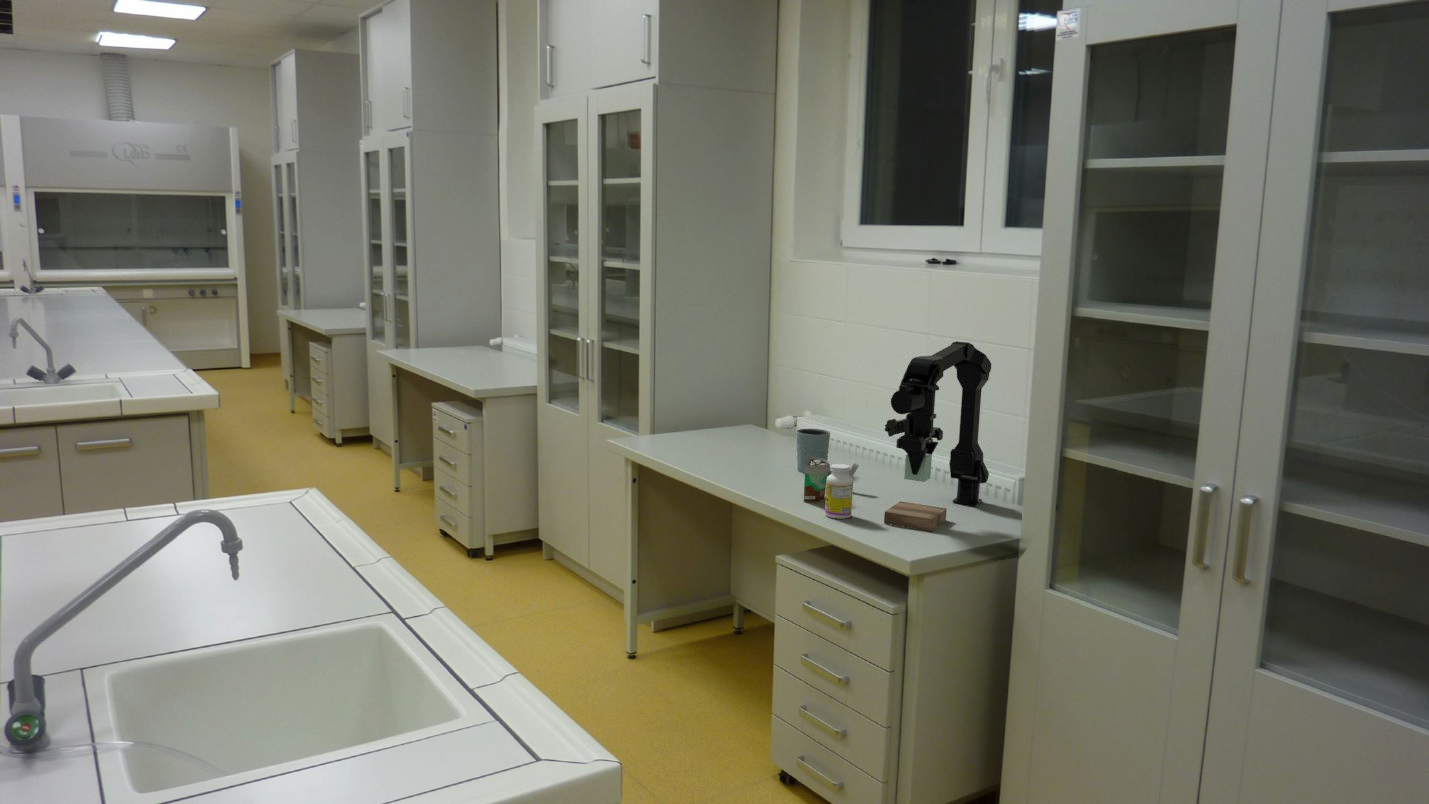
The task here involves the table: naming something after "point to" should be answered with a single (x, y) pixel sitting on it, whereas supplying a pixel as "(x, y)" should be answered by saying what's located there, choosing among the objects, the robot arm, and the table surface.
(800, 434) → the grey plant pot
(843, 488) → the supplement bottle
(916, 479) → the green block
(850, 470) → the lighter
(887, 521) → the walnut base
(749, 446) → the table surface
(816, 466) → the food container
